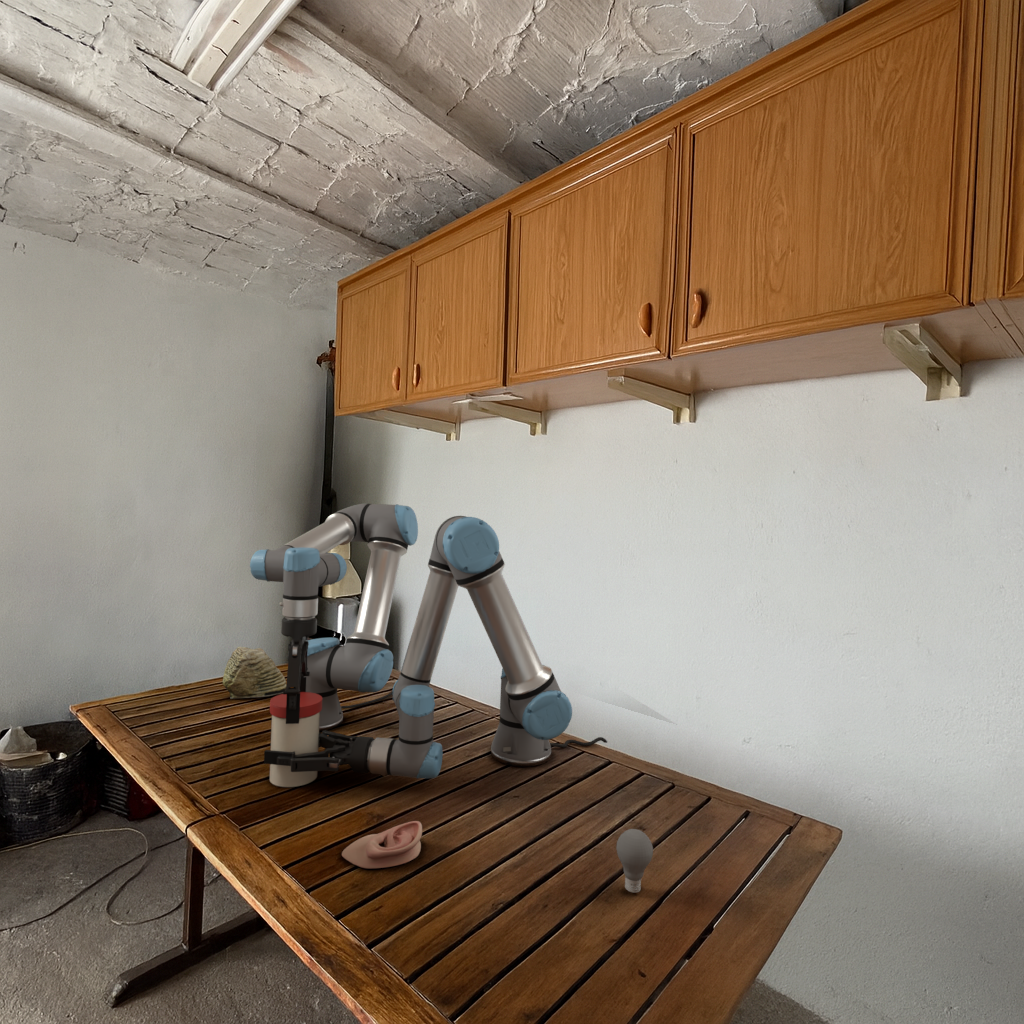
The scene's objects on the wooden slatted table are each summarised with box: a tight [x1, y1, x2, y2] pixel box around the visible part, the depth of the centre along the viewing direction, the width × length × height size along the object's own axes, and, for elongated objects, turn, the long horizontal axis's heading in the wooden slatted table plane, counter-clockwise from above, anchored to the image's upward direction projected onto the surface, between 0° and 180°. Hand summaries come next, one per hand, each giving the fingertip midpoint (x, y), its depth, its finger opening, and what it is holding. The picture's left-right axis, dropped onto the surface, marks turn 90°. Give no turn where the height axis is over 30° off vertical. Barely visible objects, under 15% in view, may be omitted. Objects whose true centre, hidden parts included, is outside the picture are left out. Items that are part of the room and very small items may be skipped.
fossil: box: [222, 646, 287, 699], centre depth 198 cm, size 9×18×15 cm, turn 132°
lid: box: [269, 692, 322, 718], centre depth 142 cm, size 11×11×2 cm
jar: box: [268, 712, 320, 788], centre depth 142 cm, size 10×10×17 cm
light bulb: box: [615, 828, 654, 894], centre depth 106 cm, size 6×6×10 cm
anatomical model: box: [341, 820, 423, 870], centre depth 114 cm, size 13×4×12 cm
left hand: (295, 713), depth 142 cm, fingers closed on lid, 11 cm apart
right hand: (276, 747), depth 143 cm, fingers closed on jar, 10 cm apart
